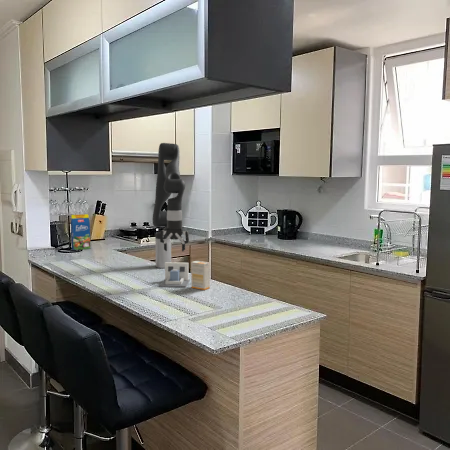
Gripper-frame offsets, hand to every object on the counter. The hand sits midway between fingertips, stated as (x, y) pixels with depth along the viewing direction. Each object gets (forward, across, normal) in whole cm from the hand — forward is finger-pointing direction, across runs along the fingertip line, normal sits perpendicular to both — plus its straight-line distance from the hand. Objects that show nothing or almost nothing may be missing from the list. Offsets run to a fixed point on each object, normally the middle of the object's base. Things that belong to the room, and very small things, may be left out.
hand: (174, 251), depth 231 cm
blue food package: (+18, +85, -93) cm, 127 cm away
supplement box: (+17, -14, +7) cm, 23 cm away
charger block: (+16, 0, 0) cm, 16 cm away
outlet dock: (+17, 0, 0) cm, 17 cm away
